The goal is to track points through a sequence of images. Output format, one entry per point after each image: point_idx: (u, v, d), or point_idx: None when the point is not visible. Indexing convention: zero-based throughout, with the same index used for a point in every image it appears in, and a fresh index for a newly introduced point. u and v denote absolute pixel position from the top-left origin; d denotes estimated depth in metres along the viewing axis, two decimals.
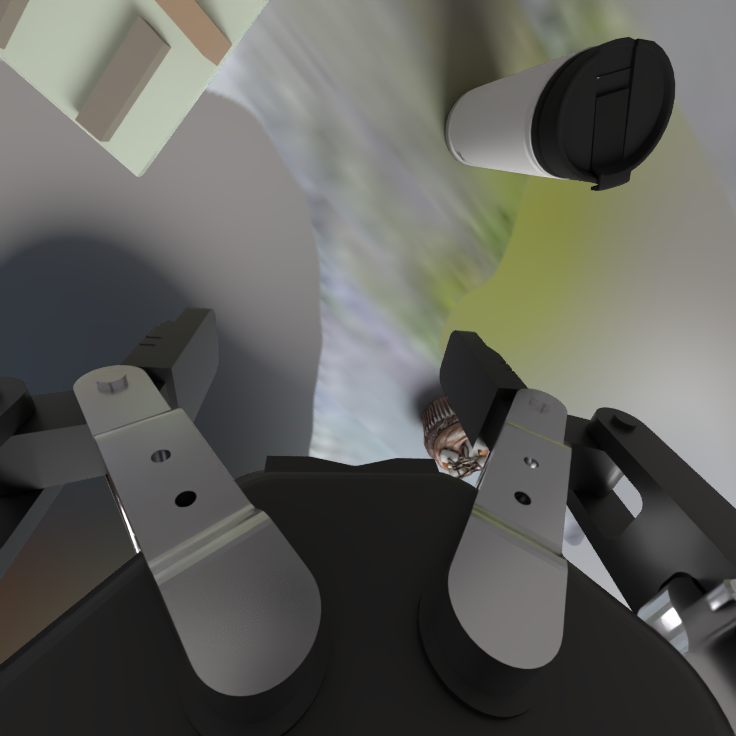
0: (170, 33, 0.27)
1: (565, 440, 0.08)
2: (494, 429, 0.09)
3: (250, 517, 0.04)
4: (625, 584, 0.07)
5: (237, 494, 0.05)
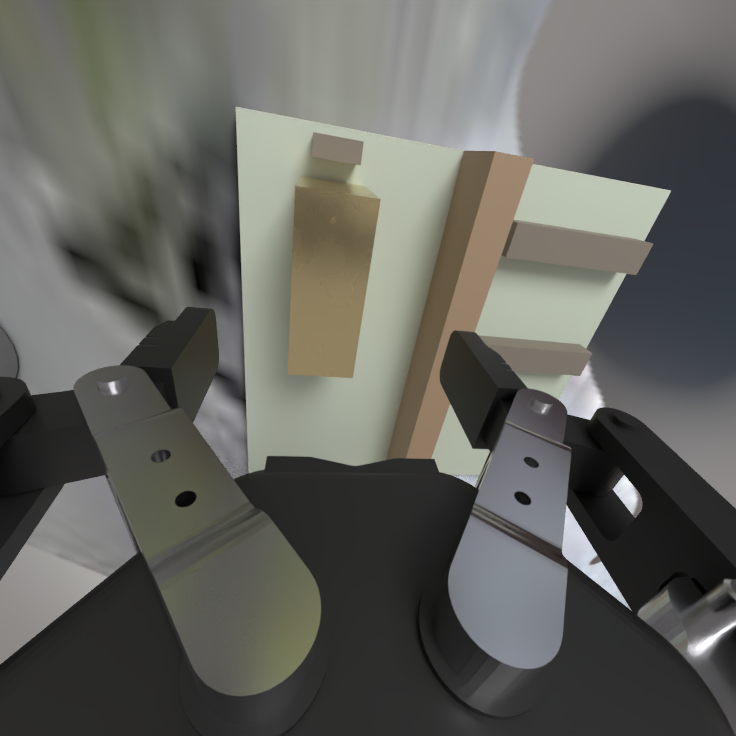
0: None
1: (565, 440, 0.08)
2: (494, 429, 0.09)
3: (250, 517, 0.04)
4: (625, 584, 0.07)
5: (237, 494, 0.05)
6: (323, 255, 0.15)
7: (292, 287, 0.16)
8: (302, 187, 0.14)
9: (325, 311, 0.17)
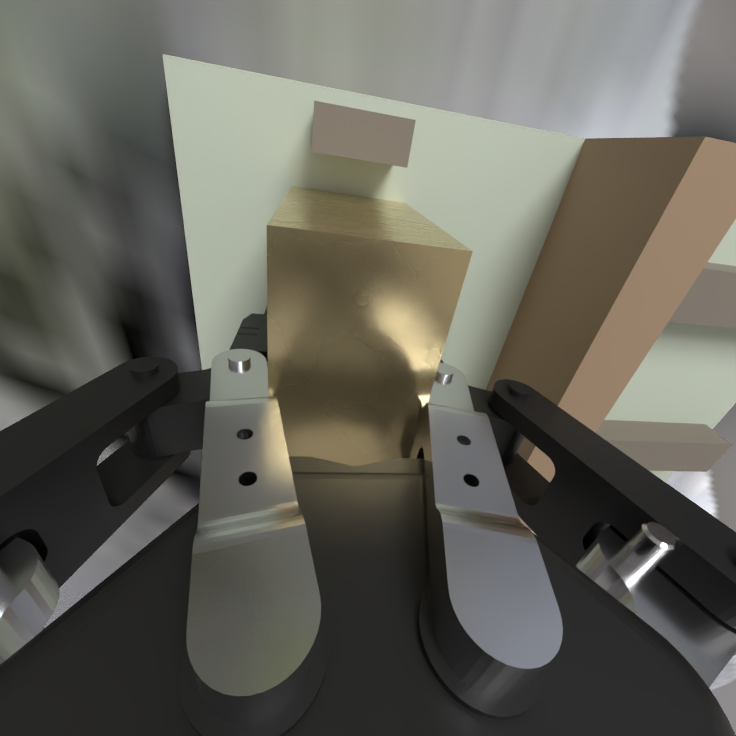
0: None
1: None
2: None
3: (290, 516, 0.04)
4: (552, 541, 0.08)
5: (290, 490, 0.05)
6: (335, 368, 0.07)
7: None
8: (285, 228, 0.06)
9: (339, 459, 0.09)
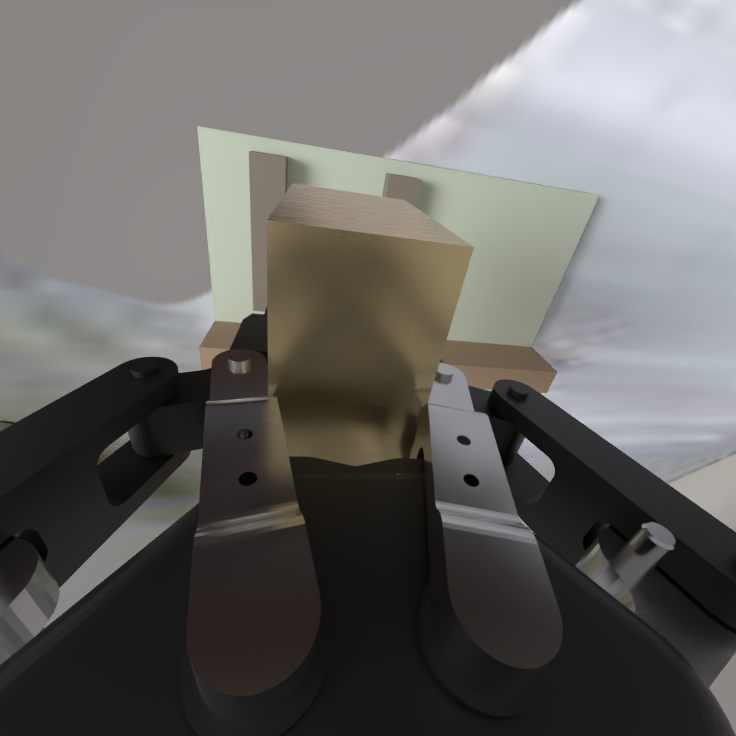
0: (263, 311, 0.26)
1: None
2: None
3: (289, 517, 0.04)
4: (552, 541, 0.08)
5: (290, 490, 0.05)
6: (335, 365, 0.07)
7: None
8: (285, 224, 0.06)
9: (339, 457, 0.09)
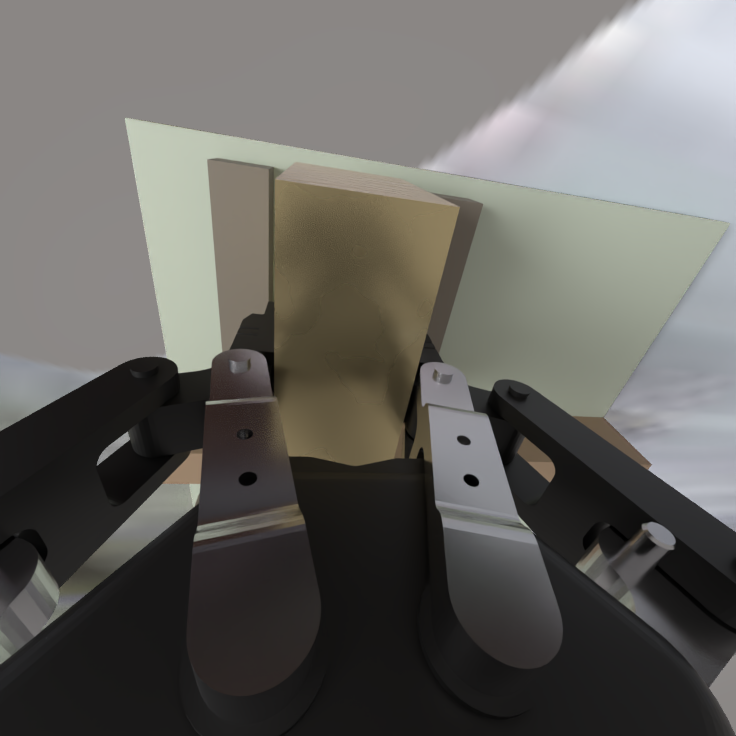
0: None
1: None
2: None
3: (289, 516, 0.04)
4: (552, 541, 0.08)
5: (289, 490, 0.05)
6: (336, 319, 0.08)
7: (276, 375, 0.08)
8: (291, 183, 0.06)
9: (340, 411, 0.09)
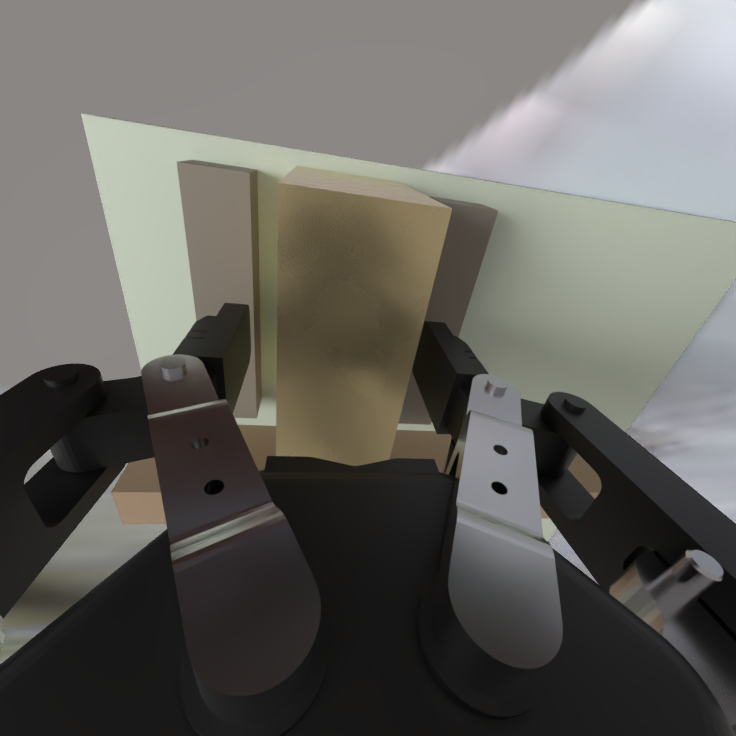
0: None
1: None
2: (455, 414, 0.10)
3: (268, 515, 0.04)
4: (591, 561, 0.07)
5: (261, 490, 0.05)
6: (336, 315, 0.08)
7: (279, 368, 0.09)
8: (293, 186, 0.07)
9: (339, 404, 0.10)
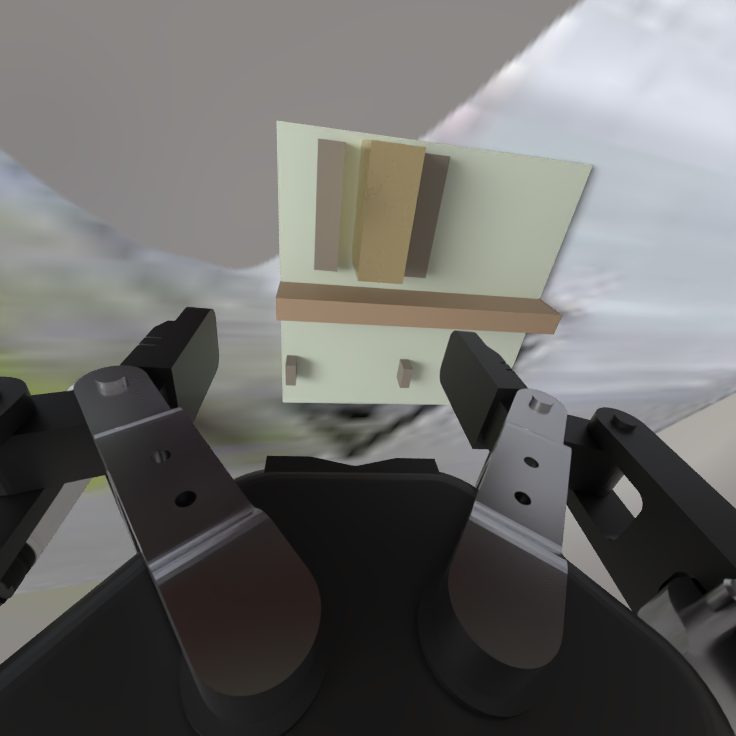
0: (319, 272, 0.32)
1: (565, 440, 0.08)
2: (494, 429, 0.09)
3: (250, 517, 0.04)
4: (625, 584, 0.07)
5: (237, 494, 0.05)
6: (387, 189, 0.23)
7: (365, 212, 0.24)
8: (376, 140, 0.22)
9: (386, 231, 0.25)
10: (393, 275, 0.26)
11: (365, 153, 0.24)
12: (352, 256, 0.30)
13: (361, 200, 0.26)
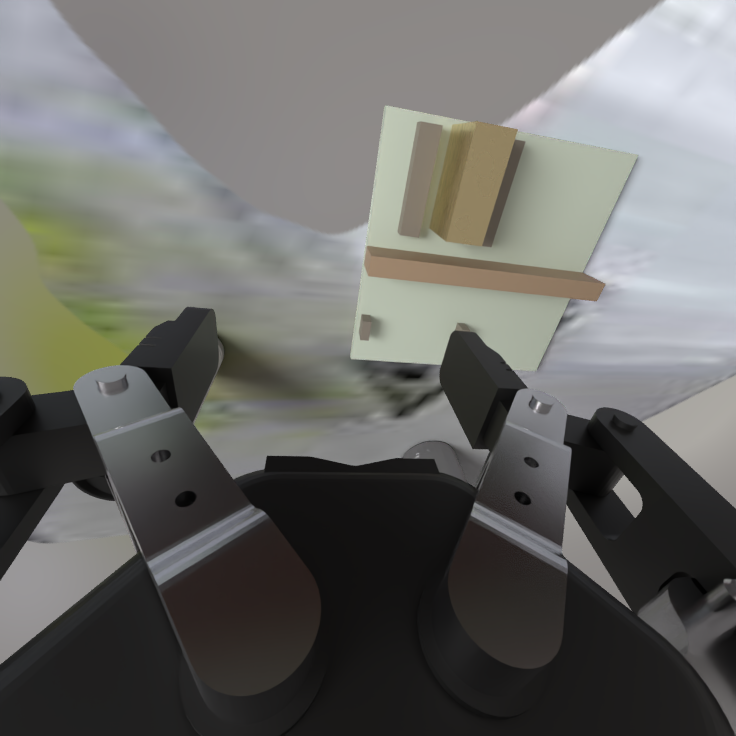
0: (400, 239, 0.37)
1: (565, 440, 0.08)
2: (494, 429, 0.09)
3: (250, 517, 0.04)
4: (625, 584, 0.07)
5: (237, 494, 0.05)
6: (482, 163, 0.28)
7: (461, 182, 0.29)
8: (479, 122, 0.27)
9: (476, 199, 0.30)
10: (475, 238, 0.32)
11: (461, 134, 0.29)
12: (432, 225, 0.36)
13: (453, 174, 0.31)
